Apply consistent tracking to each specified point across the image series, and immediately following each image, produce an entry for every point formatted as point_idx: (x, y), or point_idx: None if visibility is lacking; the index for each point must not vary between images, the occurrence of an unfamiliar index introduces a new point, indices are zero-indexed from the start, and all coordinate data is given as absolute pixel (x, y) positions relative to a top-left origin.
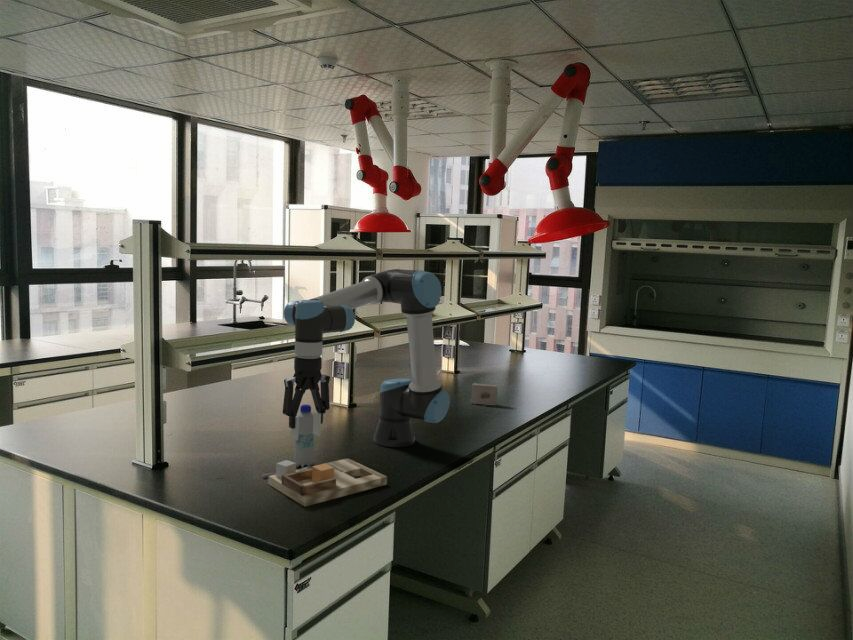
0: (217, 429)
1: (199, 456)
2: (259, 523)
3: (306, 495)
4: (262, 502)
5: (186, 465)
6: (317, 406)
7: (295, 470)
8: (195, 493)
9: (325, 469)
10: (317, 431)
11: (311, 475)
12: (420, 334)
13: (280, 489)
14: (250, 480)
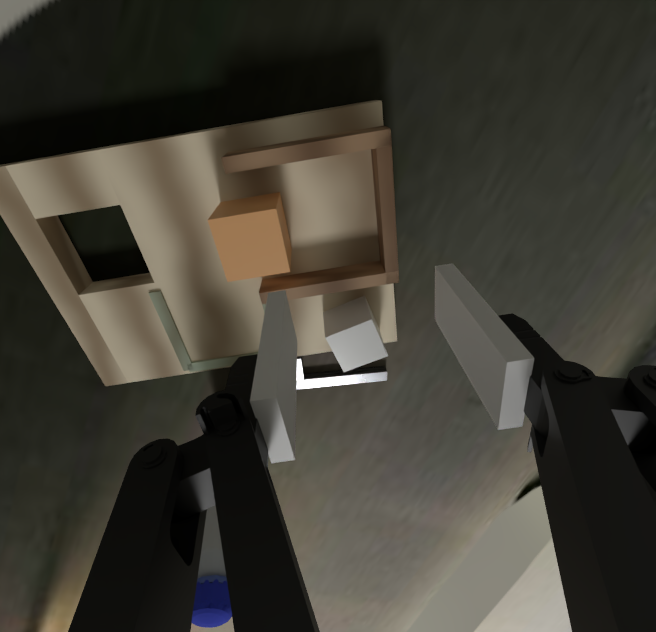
0: (347, 603)
1: (445, 511)
2: (586, 23)
3: (367, 122)
4: (474, 206)
5: (494, 480)
6: (271, 486)
7: (325, 321)
8: (577, 338)
9: (251, 216)
10: (285, 313)
11: (281, 280)
12: None
13: None
14: (419, 366)
